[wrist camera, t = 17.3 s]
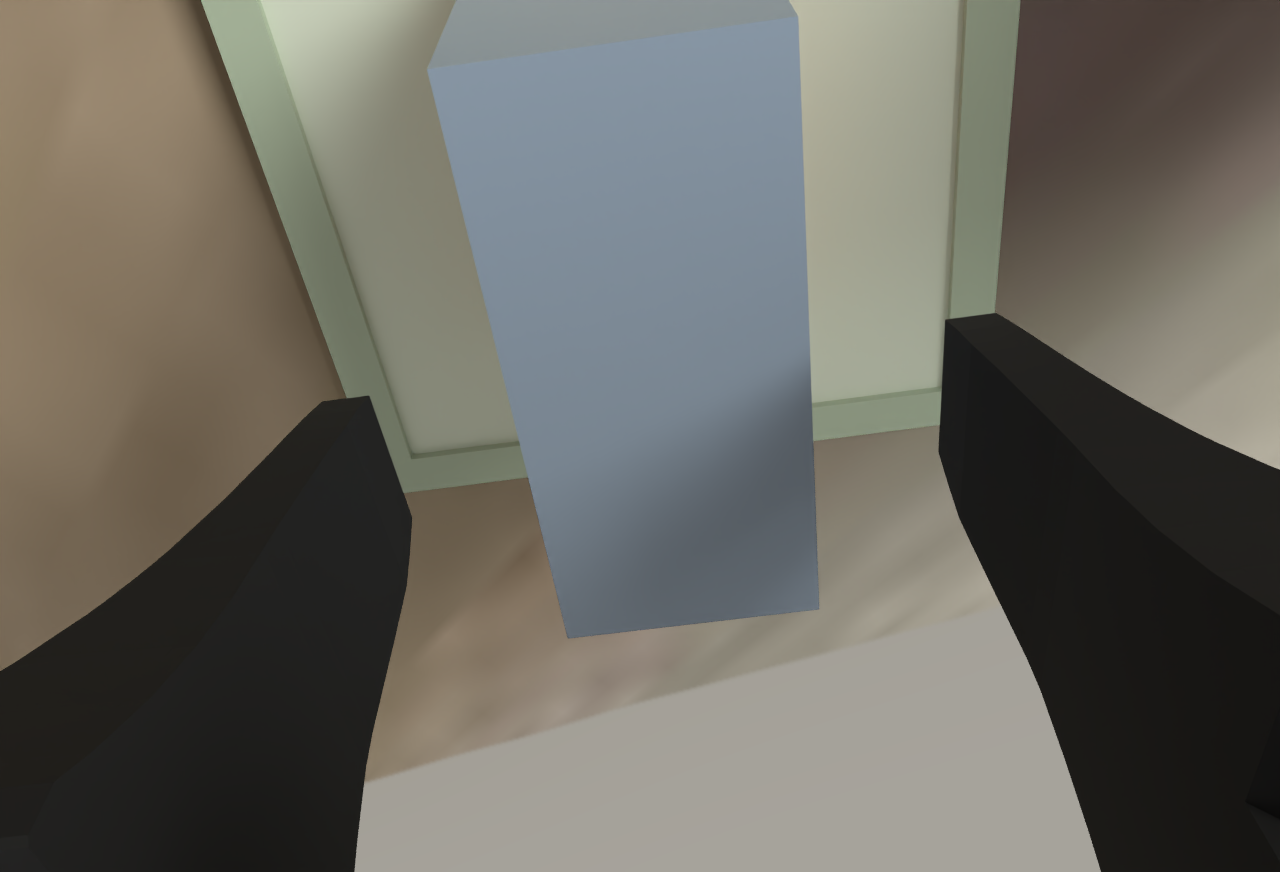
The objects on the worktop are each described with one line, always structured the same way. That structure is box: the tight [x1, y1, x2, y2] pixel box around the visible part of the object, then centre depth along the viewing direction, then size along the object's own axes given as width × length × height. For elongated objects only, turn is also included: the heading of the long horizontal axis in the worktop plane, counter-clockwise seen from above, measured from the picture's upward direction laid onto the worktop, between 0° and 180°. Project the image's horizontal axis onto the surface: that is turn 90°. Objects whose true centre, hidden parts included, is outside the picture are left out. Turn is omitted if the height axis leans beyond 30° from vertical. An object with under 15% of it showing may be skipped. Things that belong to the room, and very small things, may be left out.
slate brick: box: [427, 0, 819, 638], centre depth 15 cm, size 4×9×4 cm, turn 7°
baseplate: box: [201, 0, 1021, 493], centre depth 21 cm, size 15×16×1 cm
